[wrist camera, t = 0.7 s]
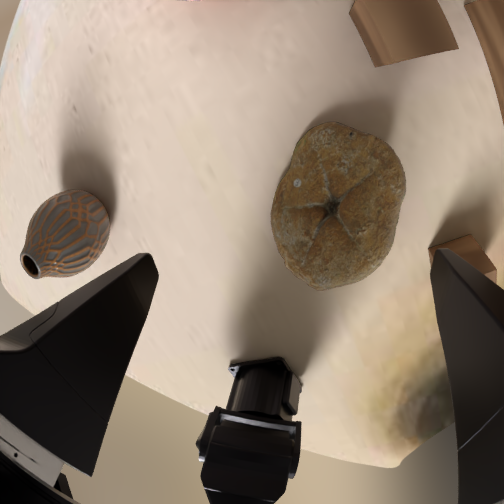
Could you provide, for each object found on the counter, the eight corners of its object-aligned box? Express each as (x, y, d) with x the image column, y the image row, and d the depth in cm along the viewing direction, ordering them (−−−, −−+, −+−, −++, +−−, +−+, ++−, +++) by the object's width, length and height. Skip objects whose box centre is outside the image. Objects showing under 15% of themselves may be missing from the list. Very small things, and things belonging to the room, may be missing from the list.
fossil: (423, 148, 13) (350, 321, 16) (440, 166, 16) (380, 306, 19) (295, 110, 18) (250, 247, 22) (331, 127, 22) (289, 246, 25)
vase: (100, 258, 28) (48, 314, 21) (56, 210, 26) (-3, 255, 19) (134, 220, 25) (74, 279, 18) (84, 164, 23) (11, 206, 16)
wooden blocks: (433, 286, 23) (453, 337, 18) (349, 13, 14) (362, -13, 9) (525, 252, 19) (557, 293, 14) (473, -8, 10) (515, -25, 5)
